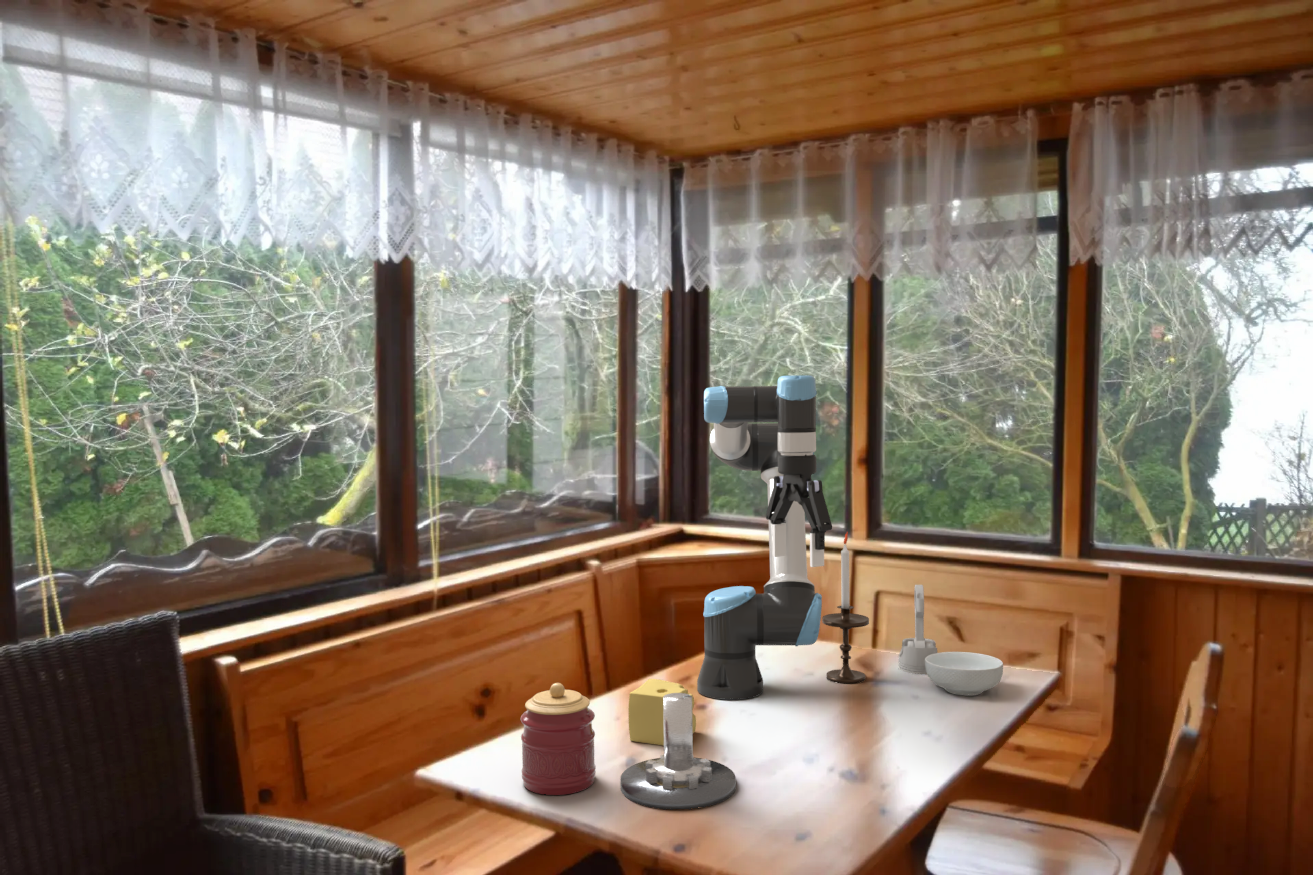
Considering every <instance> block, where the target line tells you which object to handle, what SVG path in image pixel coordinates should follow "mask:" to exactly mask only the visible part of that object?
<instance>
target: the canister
mask: <svg viewBox="0 0 1313 875" xmlns="http://www.w3.org/2000/svg"><path fill="white" fill-rule="evenodd" d="M590 702H591V701H590V699H589V698H588V697H586V696H584V695H582V694H581V693H580V692H578V691H576V690H572V689H565V686H564V685H563V684H562V683H561V682H554V683H552V684H551V686H550V688H549V690H544V691H541V692H540V691H539V692H537V693H536V694H534V695H533V696H532V697H531V698H529V699H528V700H526V702H525V705H524V707H525V709H526V711H524V712H523V713H522V714H521V716H520V721H521V723H522V725H523V732H522V733H521V736H520V740H521V743H522V744H521V745H522V747H521V750H522V751H521V752H522V756H521V758H522V760H521V761H522V769H521V779H522V782H523V786H524V787H525V788H526V790H529V791H530V792H532V793H535V794H538V795H539V794H540V795H544V794H546V796H561V795H562V796H565V795H570V794H575V793H578V792H583V791H584V790H586V789H588V788H590V787H591V786H592V785H593V784H594V781H595V776H596V771H597V770H596V764H595V763H596V762H595V737H596V736H595V735H596V732H595V730H594V728H593V724H592V722H593V721H594V720H595V716H596V714H595V712H594V711H593V710H592V709H591V708H590V707H589V706H590Z"/></svg>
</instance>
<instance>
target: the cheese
mask: <svg viewBox="0 0 1313 875" xmlns="http://www.w3.org/2000/svg"><path fill="white" fill-rule="evenodd" d="M671 693H685V694H689V695H691V696H692V734H694V733H695V732H696V728H697V718H696V717H697V716H696V715H695V714H694V708H695V698H694V695H693V694H692V693H689V690H688V689H687V688H685V687H684V686H683V684H680V683H677V682H672V681H669V680H668V681H667V680H664V679H658V678H649V679H647V680H646V681H645V682H644V683H643V684H641V685H640V686H639V687H637V688H636V689H634V690H632V691H631V692H629V697H628V707H627V708H628V732H629V739H630V742H635V743H642V744H649V745H656V746H657V745H658V746H663V747H664V720H663V696H665V695H667V694H671Z"/></svg>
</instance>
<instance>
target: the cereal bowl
mask: <svg viewBox="0 0 1313 875" xmlns="http://www.w3.org/2000/svg"><path fill="white" fill-rule="evenodd" d="M925 668H926V673H927V674H926V675H927V676H928V678H929V680H930V681H931V682H932V683H933V684H935V685H936V686H938V687H941V689H942V688H943V689H945V691H947V692H948V693H950V694H953V695H957V696H977V695H980V694H982V693H983V692H984V691H989V690H990V689H992V688H994V687H996V686H997V685H999V683H1000V681H1001V680H1002V678H1003V674H1004V663H1003V661H1002V660H1001V659H1000V658H997V657H995V656H992V655H988V654H983V653H978V652H977V653H976V652H969V651H943V652H938V653H935V654H931V655H929V656H927V657H926V658H925Z"/></svg>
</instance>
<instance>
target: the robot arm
mask: <svg viewBox="0 0 1313 875" xmlns="http://www.w3.org/2000/svg"><path fill="white" fill-rule="evenodd" d="M816 386H817V385H816V378H815V377H814V376H813V375H808V374H807V375H795V374H794V375H793V374H792V375H791V374H790V375H781V376H779V377H778V379H777V384H776V385H760V386H757V385H756V386H753V385H752V386H751V385H750V386H747V385H745V386H742V385H741V386H739V385H737V386H736V385H735V386H733V385H732V386H724V385H718V386H711V387H706V388H705V389H704V391H703V413H704V414H703V418H704V421H705V422H706V423H708V424H713V429H712V430H711V433H710V436H709V445H710V449H711V452H712V453H713V455H714V456H715V457H716V458H717V459H718V460H719V461H721V462H722V463H723V464H725V465H727V466H728V467H730V468H733V469H736V470H740V471H747V472H751V471H753V472H760V479H761V480H762V481H763V482H765V483H766V484H767V486H766V488H767V510H766V514H765V519H766V520H768V545H769V546H768V548H769V551H768V552H769V576H770V577H769V580H768V581H767V582H766V583H765V584H764V585H763V593H756V589H755V588H754V587H753V586H748V585H747V586H744V585H739V586H738V585H736V586H735V585H734V586H729V587H723V588H719V589H716V590H713V591H711V592H709V593H708V594H707V595H706V596H705V598H704V603H703V604H704V608H703V613H702V614H703V618H704V623H703V624H704V633H703V636H704V637H703V638H704V658H703V660H702V665H701V667H700V670H699V674H698V677H697V681H696V682H697V683H696V685H697V692H698V693H699V694H700V695H702V696H705V697H707V698H711V699H717V700H732V701H733V700H744V699H751V698H755V697H758V696H759V695H762V693H763V692H764V679H763V675H762V673H761V670H760V669H761V668H760V666H759V664H758V660H757V657H756V646H795V647H799V646H812V645H814V644H815V643H816V642H817V641H818V638H819V634H820V628H821V621H822V610H823V609H822V607H823V606H822V604H823V603H822V602H823V600H822V599H823V597H822V594H820V593H819V592H816V591H815V584H814V583H813V582H812V581H811V580H810V579H808V562H807V561H808V560H807V559H808V558H807V538H806V536H807V535H806V519H807V520H808V523H809V525H810V528H811V529H810V531H809V567H810V568H817V567H824V566H825V548H826V546H825V544H826V542H825V540H826V538H825V533H827V532H828V531H832V529H833V525H832V520H831V517H830V514H829V510H828V506H827V503H826V499H825V496H824V492H823V481H822V480H821V479H819V480H813V479H812V475H813V474H816V473H817V456H816V455H815V452H816V451H817V428H816V427H817V426H816V425H817V422H816V421H817V392H818V391H817V387H816Z"/></svg>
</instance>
